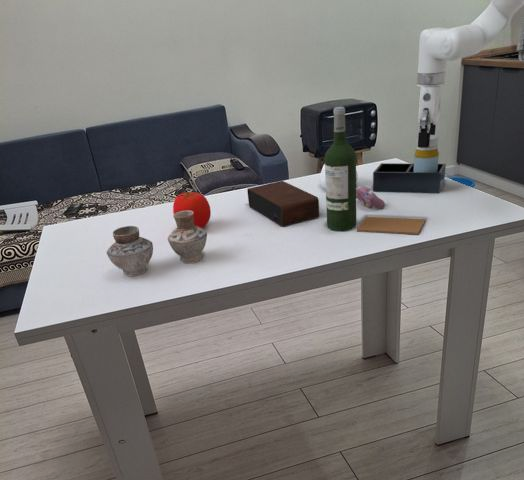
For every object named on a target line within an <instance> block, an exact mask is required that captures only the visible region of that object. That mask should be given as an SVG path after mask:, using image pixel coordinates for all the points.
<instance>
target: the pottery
mask: <svg viewBox="0 0 524 480" xmlns="http://www.w3.org/2000/svg"><path fill="white" fill-rule="evenodd" d="M193 216H194V212H193V211H189V210H185V211H180V212H177V213H175V214H173V216H172V217H173V219H174V221H175V224H176V227H177V228H175V229H174V230H173V231H172V232H171V233H170V234H169V235H168V237H167V241H168V244H169V245H170V248H171V250H172V251H173V252H174V253H175V254H176V255H178V256H179V261H180V262H181V263H183V264H193V263H197V262H199V261H201V260H202V259H203V255H202V252H203V251H204V249H205V246H206V243H207V239H208V238H207V237H208V231H206V229H204V228H200V227H198V226H195V225H194V219H193ZM112 236H113V240H114V241H115V242H113V243H112V244H111V246H109V247H108V249H107V250H106V255H107V258H108V259H109V261H110V262H111V264H113V266H115V267H116V268H118V269H120V270H122V273H123V274H124V275H125V276H127V277H135V276H139V275H142V274H144V273H145V272H146V271H147V270H148V268H147V265H149V263H150V261H151V260H152V257H153V254H154V245H153V242H152V241H151V240H150V239H147V238H145V237H141V236H140V229H139V227H138V226H136V225H127V226H121V227H118V228H116V229H114V230H113V231H112Z"/></svg>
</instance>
